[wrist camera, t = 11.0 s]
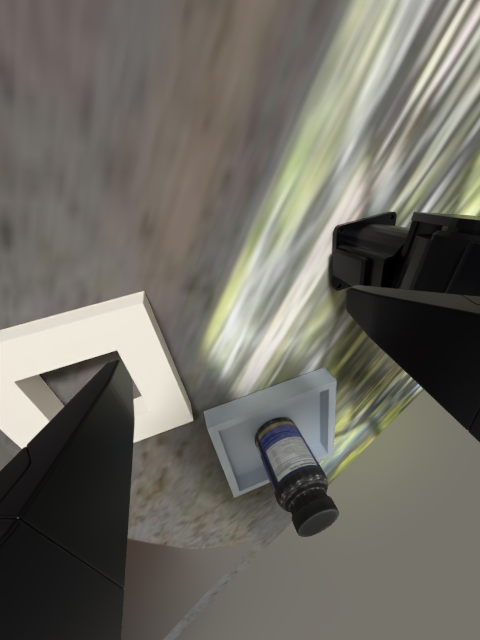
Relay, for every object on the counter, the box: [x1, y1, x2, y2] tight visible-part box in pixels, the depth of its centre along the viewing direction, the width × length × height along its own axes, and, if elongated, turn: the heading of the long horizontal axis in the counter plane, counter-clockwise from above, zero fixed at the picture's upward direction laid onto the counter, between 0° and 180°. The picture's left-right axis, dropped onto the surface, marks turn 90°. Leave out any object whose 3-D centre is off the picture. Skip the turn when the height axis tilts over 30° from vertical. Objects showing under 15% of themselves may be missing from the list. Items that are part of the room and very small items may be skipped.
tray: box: [204, 367, 337, 498], centre depth 33 cm, size 16×16×2 cm
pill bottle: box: [255, 417, 339, 537], centre depth 29 cm, size 6×6×11 cm
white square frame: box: [0, 291, 193, 449], centre depth 22 cm, size 14×14×2 cm
